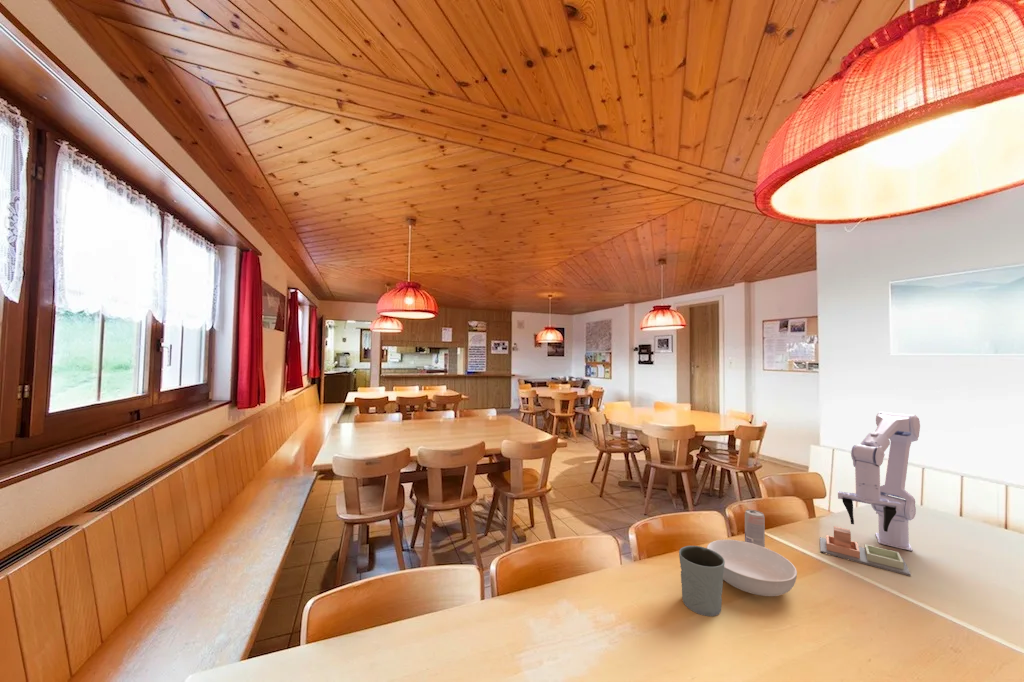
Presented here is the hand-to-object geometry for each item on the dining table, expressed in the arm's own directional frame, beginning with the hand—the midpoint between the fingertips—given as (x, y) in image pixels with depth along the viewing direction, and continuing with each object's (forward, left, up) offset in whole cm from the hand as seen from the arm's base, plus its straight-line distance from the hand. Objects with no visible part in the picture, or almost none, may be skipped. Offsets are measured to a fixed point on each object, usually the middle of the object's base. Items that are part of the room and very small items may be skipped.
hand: (868, 526), depth 120 cm
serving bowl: (+43, -28, -9) cm, 52 cm away
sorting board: (+2, -2, -9) cm, 9 cm away
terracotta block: (+2, -7, -8) cm, 11 cm away
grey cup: (+62, -36, -9) cm, 72 cm away
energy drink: (+21, -29, -9) cm, 37 cm away
